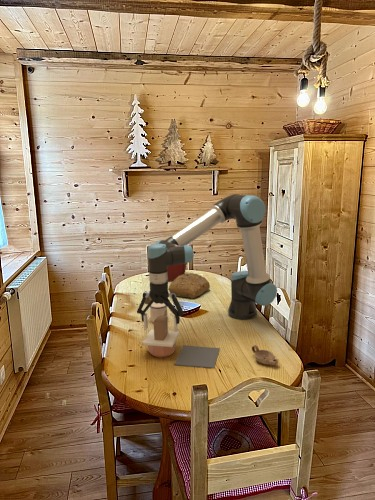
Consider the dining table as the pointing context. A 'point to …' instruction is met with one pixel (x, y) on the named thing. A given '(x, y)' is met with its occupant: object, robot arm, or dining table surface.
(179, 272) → the plant pot
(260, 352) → the oil lamp
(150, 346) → the bowl
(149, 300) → the rock
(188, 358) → the mat
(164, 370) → the dining table surface
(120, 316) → the dining table surface
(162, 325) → the lid
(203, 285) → the bread
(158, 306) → the teacup with lid
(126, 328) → the dining table surface
